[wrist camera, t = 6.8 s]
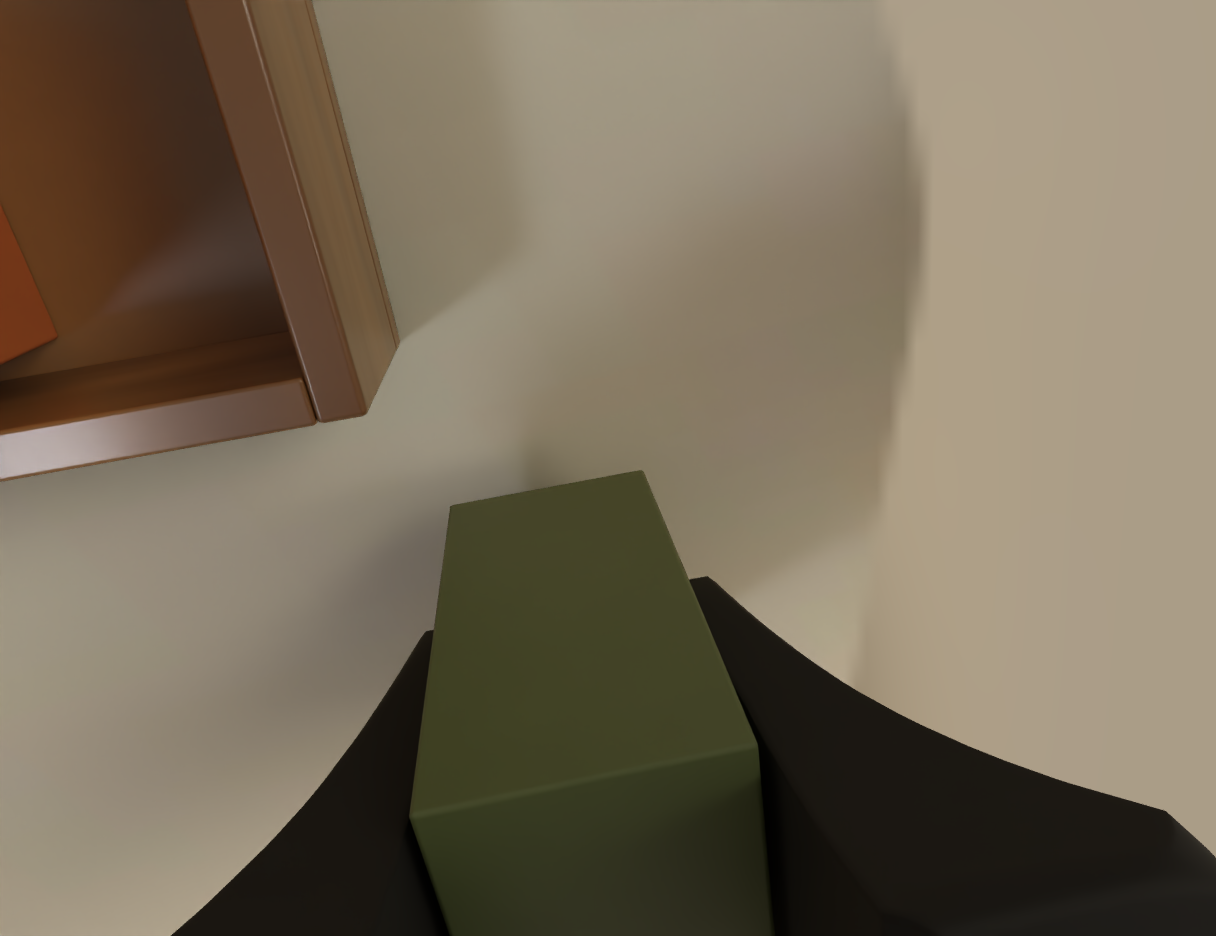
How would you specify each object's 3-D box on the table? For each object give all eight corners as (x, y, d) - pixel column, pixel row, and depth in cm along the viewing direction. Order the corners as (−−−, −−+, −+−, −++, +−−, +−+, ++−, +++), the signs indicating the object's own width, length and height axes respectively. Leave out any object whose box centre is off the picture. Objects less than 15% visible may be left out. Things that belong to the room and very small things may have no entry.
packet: (643, 468, 12) (759, 742, 7) (675, 697, 14) (787, 1062, 9) (449, 504, 12) (406, 817, 7) (507, 732, 14) (513, 1126, 8)
